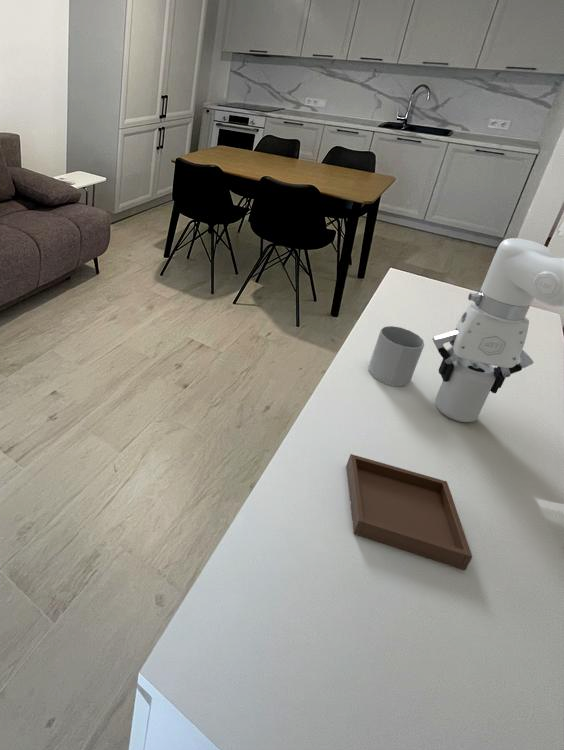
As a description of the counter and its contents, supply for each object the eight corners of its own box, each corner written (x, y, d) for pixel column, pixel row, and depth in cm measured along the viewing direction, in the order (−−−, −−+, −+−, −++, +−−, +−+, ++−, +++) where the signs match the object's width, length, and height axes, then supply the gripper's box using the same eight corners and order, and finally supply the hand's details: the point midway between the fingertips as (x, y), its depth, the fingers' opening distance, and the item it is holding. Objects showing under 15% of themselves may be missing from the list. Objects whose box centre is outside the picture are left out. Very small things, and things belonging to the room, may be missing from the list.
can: (438, 419, 98) (460, 369, 93) (428, 395, 104) (448, 348, 100) (482, 429, 96) (505, 379, 91) (468, 404, 103) (490, 356, 98)
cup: (378, 358, 116) (390, 322, 112) (415, 377, 110) (430, 339, 106) (361, 371, 111) (374, 334, 107) (400, 392, 105) (414, 352, 101)
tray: (441, 493, 81) (447, 481, 80) (465, 570, 69) (472, 557, 68) (346, 465, 85) (350, 453, 84) (353, 533, 73) (358, 520, 72)
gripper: (452, 304, 89) (421, 382, 97) (567, 326, 85) (526, 407, 92) (442, 286, 96) (414, 361, 103) (548, 306, 91) (511, 383, 98)
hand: (467, 382), depth 97 cm, fingers closed on can, 7 cm apart
